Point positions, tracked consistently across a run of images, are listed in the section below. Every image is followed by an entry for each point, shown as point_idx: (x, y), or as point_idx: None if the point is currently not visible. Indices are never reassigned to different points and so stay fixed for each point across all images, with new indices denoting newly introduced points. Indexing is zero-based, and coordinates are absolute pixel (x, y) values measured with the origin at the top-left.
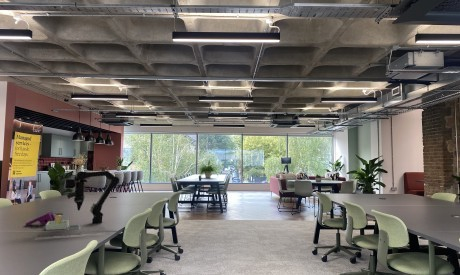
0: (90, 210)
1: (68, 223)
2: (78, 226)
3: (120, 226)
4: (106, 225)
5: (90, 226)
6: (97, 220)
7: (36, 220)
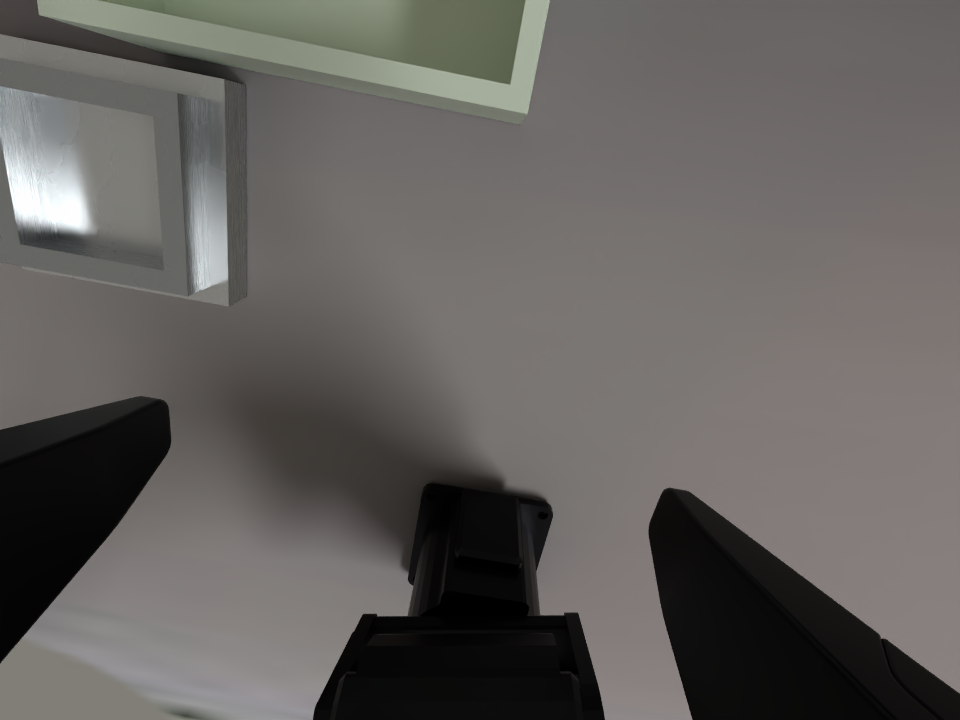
0: (552, 684)
1: (432, 100)
2: (23, 253)
3: (240, 697)
4: (371, 609)
5: (396, 447)
6: (413, 587)
7: None
